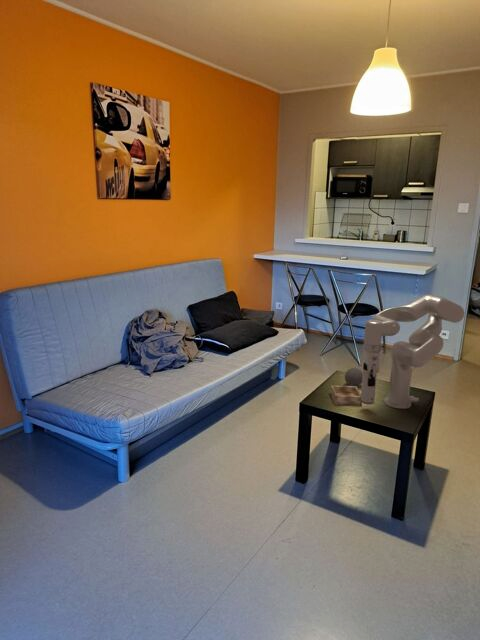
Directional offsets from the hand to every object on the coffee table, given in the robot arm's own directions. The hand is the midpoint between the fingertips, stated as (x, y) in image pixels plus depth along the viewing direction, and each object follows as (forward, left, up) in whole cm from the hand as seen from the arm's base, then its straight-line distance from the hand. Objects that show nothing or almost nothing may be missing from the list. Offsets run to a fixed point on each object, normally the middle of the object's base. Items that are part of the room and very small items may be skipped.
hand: (369, 382), depth 210 cm
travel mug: (0, 0, -10) cm, 10 cm away
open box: (+8, -12, -14) cm, 20 cm away
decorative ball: (0, -30, -14) cm, 33 cm away
